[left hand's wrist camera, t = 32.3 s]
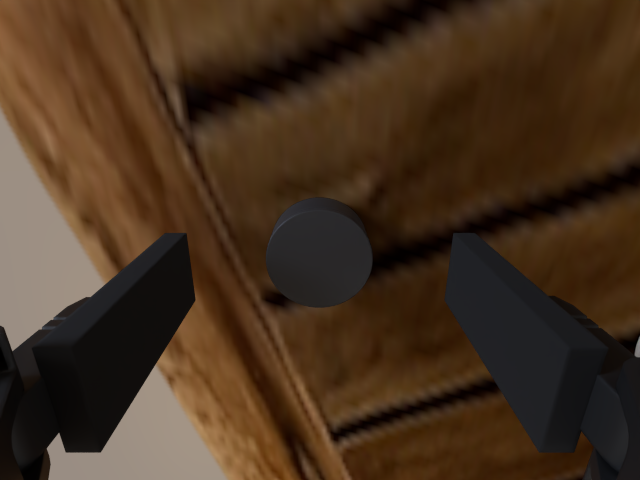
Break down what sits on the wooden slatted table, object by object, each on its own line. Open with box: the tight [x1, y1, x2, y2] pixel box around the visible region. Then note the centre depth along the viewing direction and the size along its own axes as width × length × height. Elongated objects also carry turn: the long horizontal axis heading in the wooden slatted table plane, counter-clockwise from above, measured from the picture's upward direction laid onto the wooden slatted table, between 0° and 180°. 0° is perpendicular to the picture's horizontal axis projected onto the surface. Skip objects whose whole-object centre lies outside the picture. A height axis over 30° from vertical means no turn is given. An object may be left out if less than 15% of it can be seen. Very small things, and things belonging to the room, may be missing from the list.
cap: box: [266, 198, 373, 308], centre depth 15 cm, size 4×4×2 cm
